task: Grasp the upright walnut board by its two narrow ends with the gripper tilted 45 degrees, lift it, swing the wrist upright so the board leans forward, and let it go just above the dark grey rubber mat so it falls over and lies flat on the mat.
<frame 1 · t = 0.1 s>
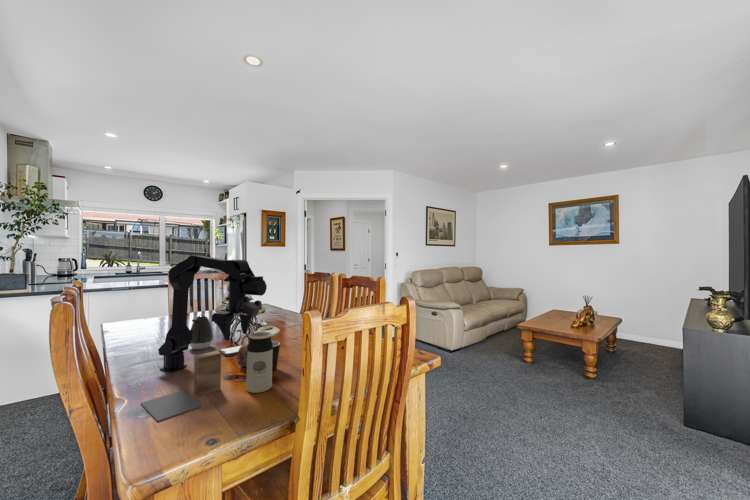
hand: (236, 336, 114), 15 cm above the table, tool pointing down, fingers open, 9 cm apart
mat: (170, 405, 92), on the table
phone case: (240, 352, 144), on the table
tin: (250, 363, 129), on the table
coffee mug: (264, 370, 122), on the table
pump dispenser: (200, 348, 147), on the table
travel mug: (259, 388, 105), on the table
board: (207, 391, 102), on the table
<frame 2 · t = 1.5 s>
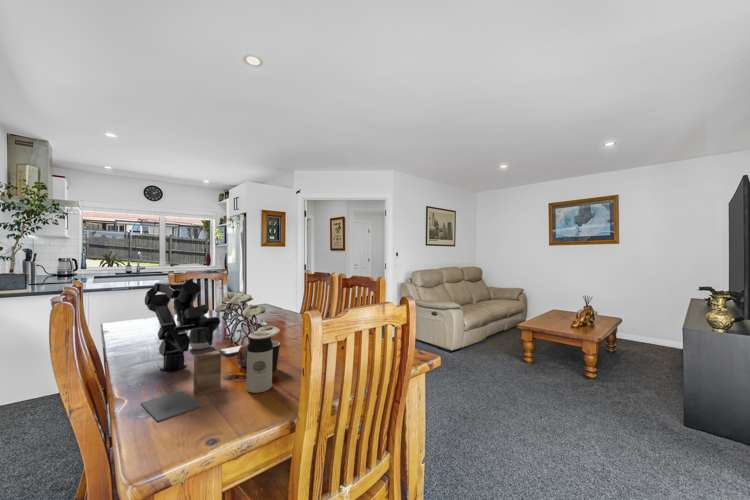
hand: (197, 348, 108), 12 cm above the table, tool tilted 45°, fingers open, 9 cm apart
nothing on the table moved.
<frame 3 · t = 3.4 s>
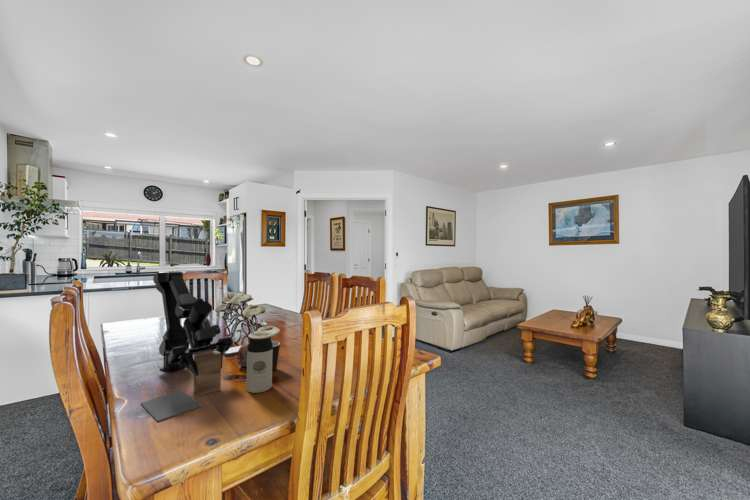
hand: (209, 371, 101), 7 cm above the table, tool tilted 45°, fingers closed on board, 7 cm apart
board: (207, 391, 102), on the table, touching gripper
everything else where it was.
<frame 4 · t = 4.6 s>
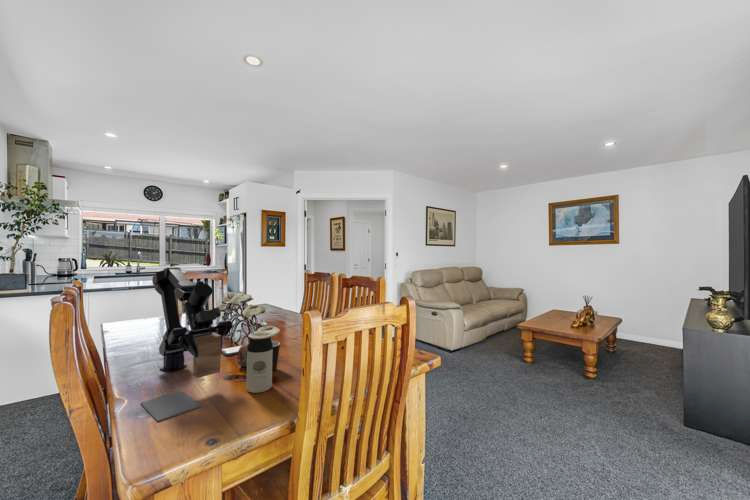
hand: (209, 354, 101), 12 cm above the table, tool tilted 45°, fingers closed on board, 7 cm apart
board: (206, 373, 102), point 6 cm above the table, touching gripper
everything else where it was.
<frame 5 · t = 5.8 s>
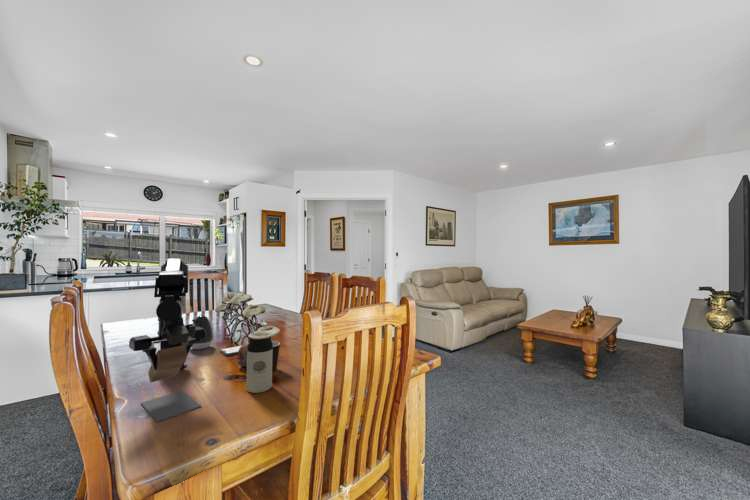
hand: (169, 366, 94), 11 cm above the table, tool pointing down, fingers closed on board, 7 cm apart
board: (162, 374, 97), point 7 cm above the table, tilted 45°, touching gripper
everything else where it was.
when the fingers open (6 cm above the table, at t = 7.0 s): board moves 2 cm and tips over, resting on mat.
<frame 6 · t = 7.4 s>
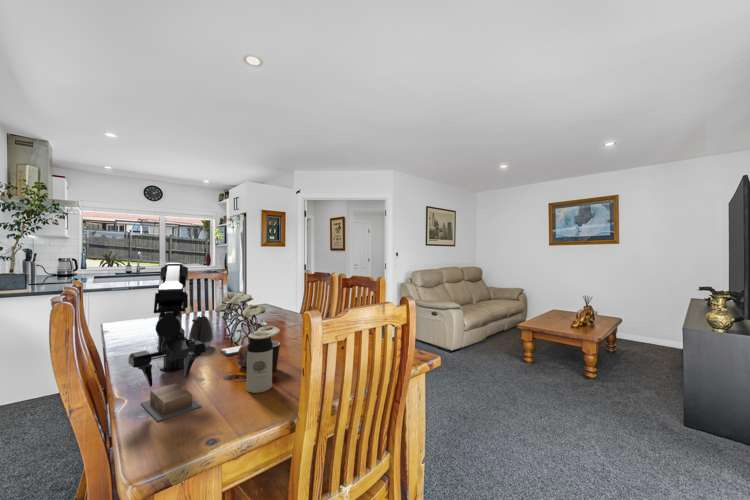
hand: (168, 381, 94), 6 cm above the table, tool pointing down, fingers open, 9 cm apart
board: (163, 392, 96), point 2 cm above the table, tilted 90°, touching mat
everything else where it was.
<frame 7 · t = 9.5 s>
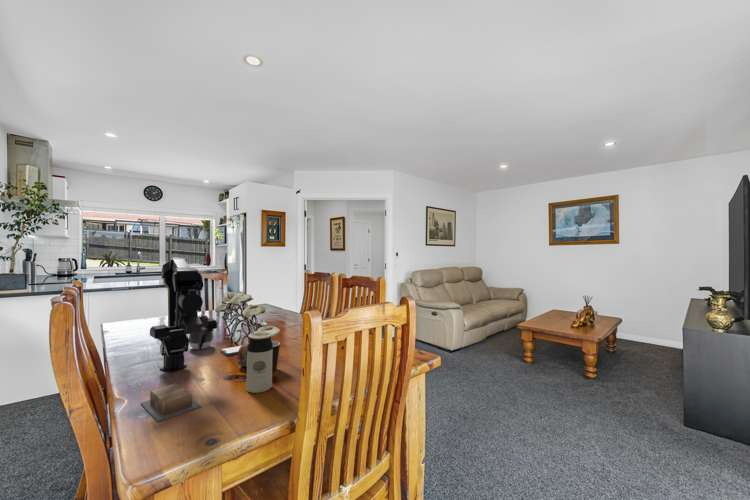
hand: (184, 353, 105), 11 cm above the table, tool pointing down, fingers open, 9 cm apart
nothing on the table moved.
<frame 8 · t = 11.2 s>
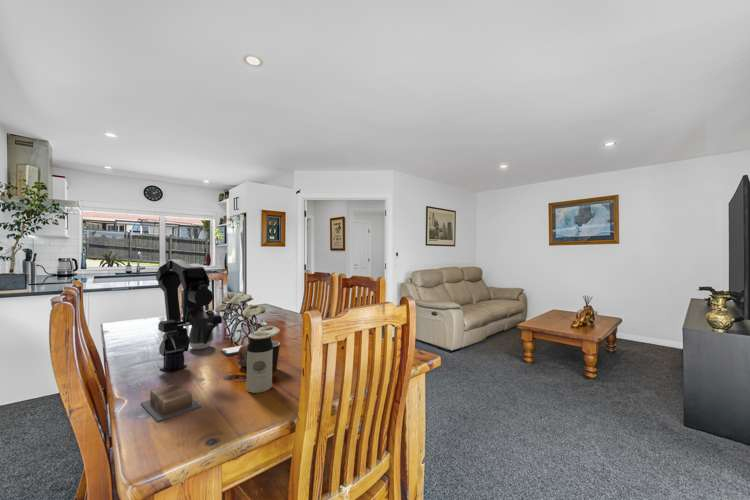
hand: (191, 347, 110), 12 cm above the table, tool pointing down, fingers open, 9 cm apart
nothing on the table moved.
at the end: board tilted 90°; board inside the target area (6.3 cm from its centre), point 2.1 cm above the table; the gripper is holding nothing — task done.
